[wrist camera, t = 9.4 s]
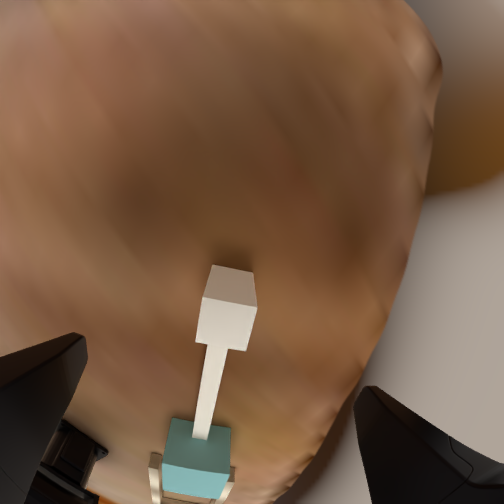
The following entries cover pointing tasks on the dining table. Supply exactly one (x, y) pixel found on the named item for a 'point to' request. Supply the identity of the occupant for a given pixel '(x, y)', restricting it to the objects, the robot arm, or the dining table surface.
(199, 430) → the teal and white dumbbell
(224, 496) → the beige u-shaped frame
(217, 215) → the dining table surface
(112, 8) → the dining table surface
